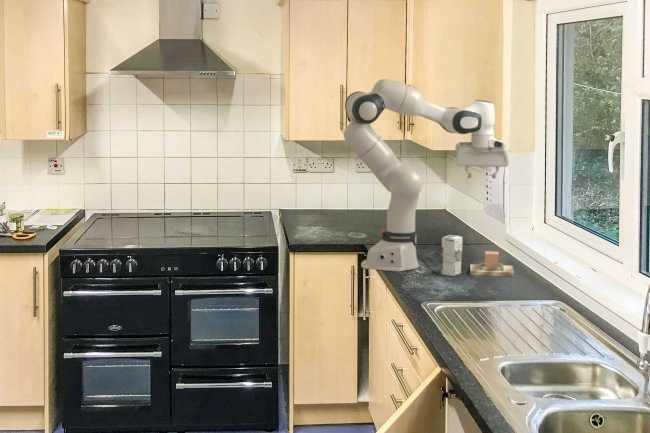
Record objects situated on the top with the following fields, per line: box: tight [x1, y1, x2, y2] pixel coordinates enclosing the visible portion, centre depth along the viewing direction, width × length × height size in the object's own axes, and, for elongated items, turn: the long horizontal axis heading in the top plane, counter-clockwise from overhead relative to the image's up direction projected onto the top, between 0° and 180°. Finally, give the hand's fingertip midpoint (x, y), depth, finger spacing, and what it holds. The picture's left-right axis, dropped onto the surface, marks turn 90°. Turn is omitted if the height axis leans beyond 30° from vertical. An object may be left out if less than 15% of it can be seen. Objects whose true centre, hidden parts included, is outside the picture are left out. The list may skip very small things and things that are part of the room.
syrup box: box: [440, 234, 464, 277], centre depth 330 cm, size 6×6×14 cm
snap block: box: [484, 250, 500, 268], centre depth 334 cm, size 5×5×6 cm
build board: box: [469, 262, 515, 278], centre depth 334 cm, size 16×12×2 cm
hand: (481, 177), depth 342 cm, fingers open, 8 cm apart
